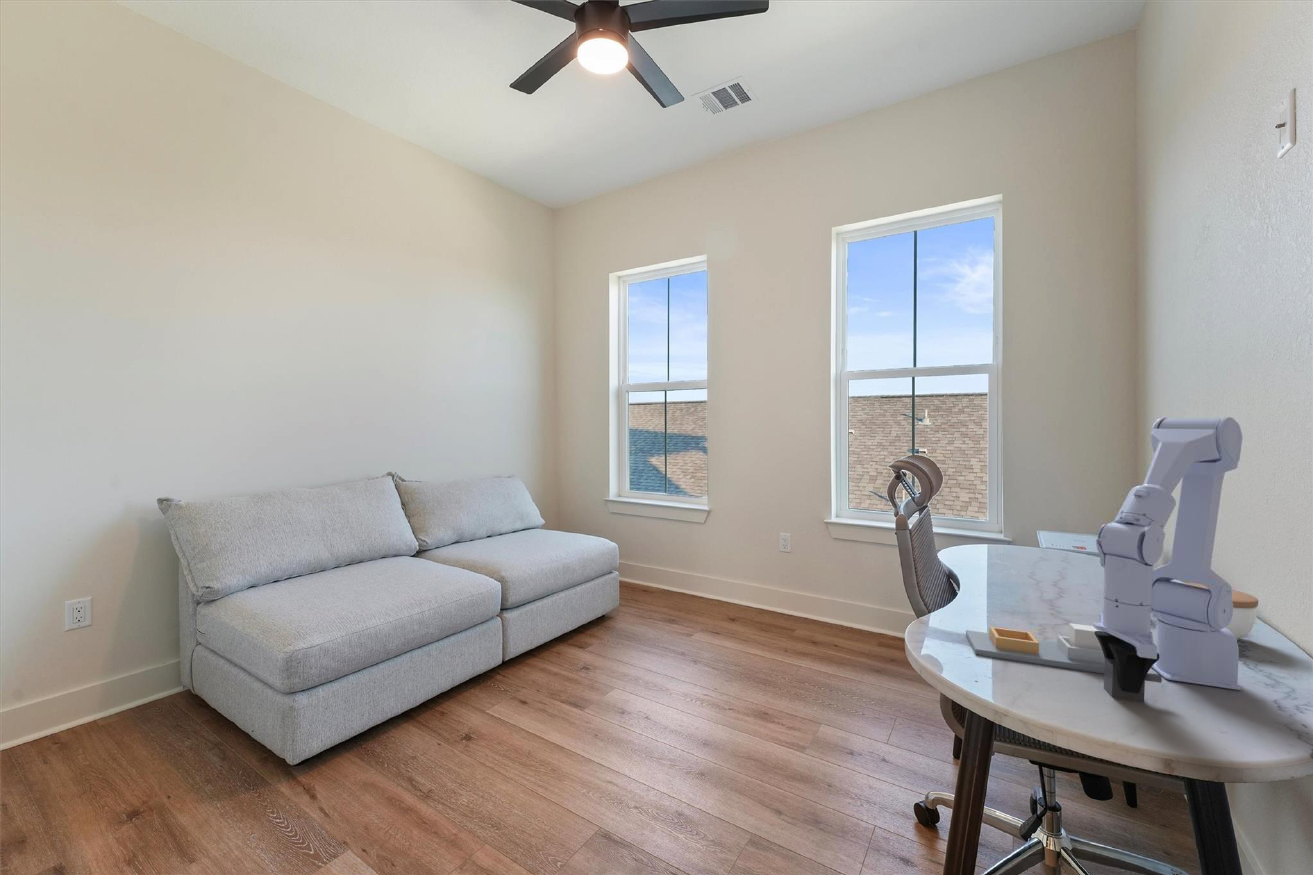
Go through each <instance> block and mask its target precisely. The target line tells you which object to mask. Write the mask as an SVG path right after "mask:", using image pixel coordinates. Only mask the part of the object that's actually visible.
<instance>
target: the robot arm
mask: <svg viewBox="0 0 1313 875" xmlns="http://www.w3.org/2000/svg"><path fill="white" fill-rule="evenodd" d="M1150 443H1151V447H1152V450H1153V453H1154V455H1153V458H1152V459H1151V463H1150V464H1149V468H1148V471H1147V473H1146V476H1145V478H1144V481H1143V484H1142V485H1136V486H1134V487H1132V488H1131V489H1130V490H1129V492H1128V494H1127V496H1126V497H1125V499H1124V501H1123V502H1122V506H1121V507H1120V509H1119V511H1118V512H1117V514H1116V516H1115V518H1114V519H1113V521H1110V522H1109V523H1105V524H1103V525H1102V526H1100V528H1099V531H1098V533H1097V538H1096V540H1095V545H1096V550H1097V552H1098V554H1099V564H1100V566H1101V567H1102V568H1103V593H1102V594H1103V597H1102V601H1103V602H1102V612H1101V611H1100V612H1099V614H1098V615H1099V616H1098V617H1099V618H1098V622H1095V621H1094V622H1093V623H1092V626H1093V627H1094V628H1095V629H1097V630H1100V631H1095V635H1096V637H1097V639H1098V641H1099V643H1100V645H1101V648H1102V650H1103V653H1104V657H1105V658H1108V659H1115V661H1116V665H1117V672H1118V681H1119V685H1120V688H1121V690H1122V691H1125V692H1131V693H1137V694H1139V692H1140V690H1141V688H1142V685H1143V682H1144V680H1145V677H1146V675H1147V673H1149V671H1150V669H1151V668H1152V669H1154V670H1155V672H1157V673H1158V674H1159V675H1160V676H1161V677H1163V678H1164V679H1166V680H1169V681H1176V682H1183V683H1189V684H1194V685H1203V686H1209V687H1216V688H1217V687H1218V688H1224V689H1229V690H1236V691H1237V690H1238V691H1239V690H1241V686H1240V685H1238V683H1239V682H1238V680H1239V679H1238V678H1239V657H1240V656H1239V655H1240V654H1239V653H1240V652H1239V650H1240V649H1239V645H1238V639H1237V640H1236V638H1235V636H1234V635H1233V633H1232V632H1231V631H1230V630H1228V629H1226V628H1225V627H1227V626H1228V625H1229V623H1230V621H1231V619H1232V615H1233V602H1232V590H1233V589H1232V586H1231V585H1230V584H1229V582H1227V581H1226V579H1224V578H1223V577H1221V576H1220V575H1219V574H1218V573H1216V572H1215V571H1214V570H1213V569H1211V567H1212V560H1213V559H1212V558H1213V551H1214V547H1215V538H1216V531H1217V525H1218V524H1217V523H1218V516H1219V509H1220V501H1221V494H1222V489H1223V482H1224V479H1225V478H1224V477H1225V473H1227V472H1230V471H1233V470H1236V469H1238V465H1239V462H1240V461H1241V460H1240V458H1241V452H1242V451H1241V450H1242V444H1243V433H1242V429H1241V426H1240V423H1239V422H1238V421H1237V420H1235V418H1234V417H1231V416H1229V417H1228V416H1225V417H1219V418H1218V417H1209V418H1207V417H1206V418H1204V417H1200V418H1197V417H1195V418H1191V417H1189V418H1187V417H1186V418H1183V417H1182V418H1181V417H1178V418H1168V417H1160V418H1158V419H1157V420H1156V421H1155V422H1154V423H1153V425H1152V426H1151V429H1150ZM1180 482H1181V486H1180V492H1179V501H1178V507H1177V514H1176V519H1175V520H1176V521H1175V529H1174V535H1173V541H1172V549H1171V555H1170V562H1168V563H1167V564H1166V563H1165V564H1163V565H1161V566H1158V567H1155V568H1154V565H1155V564H1157V562H1158V561H1159V560H1160V558H1161V557H1162V554H1163V552H1164V550H1163V549H1164V541H1165V538H1166V532H1164V529H1165V527H1166V525H1167V523H1168V521H1169V519H1170V517H1171V515H1172V513H1173V511H1174V509H1175V507H1176V505H1177V501H1176V499H1175V497H1174V496H1173V495H1172V493H1173V492H1174V491H1175V489H1176V487H1177V486H1178V484H1179V483H1180ZM1174 580H1177V581H1182V582H1176V581H1174ZM1183 582H1186V583H1192V584H1201V585H1204V586H1206V587H1207V588H1209V589H1205V588H1201V587H1196V586H1191V585H1187V584H1182V583H1183ZM1152 618H1154V619H1156V636H1155V641H1156V642H1155V643H1154V636H1153V632H1152V631H1151V628H1152V627H1151V626H1152V624H1151V623H1152Z"/></svg>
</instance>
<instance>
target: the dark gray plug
mask: <svg viewBox="0 0 1313 875" xmlns="http://www.w3.org/2000/svg"><path fill="white" fill-rule="evenodd" d="M1103 674H1104V676H1103V690H1105V691H1106V692H1107V694H1108V695H1109V696H1110V697H1111V698H1114V699H1120V700H1127V701H1134V702H1139V703H1145V687H1146V682H1152V683H1157V684H1158V683H1159V684H1162V681H1163V680H1162V679H1163V678H1162V675H1161V674H1160V673H1158V674H1157V673H1150V672H1148V673H1147V675H1146V677H1145V680H1144V682H1143V685H1142V688H1141V690H1140V692H1139V694H1137V693H1131V692H1125V691H1122V690H1121V688H1120V685H1119V681H1118V672H1117V665H1116V661H1115V659H1108V658H1105V670H1104V673H1103Z"/></svg>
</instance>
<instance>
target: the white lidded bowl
mask: <svg viewBox="0 0 1313 875" xmlns="http://www.w3.org/2000/svg"><path fill="white" fill-rule="evenodd" d="M1181 583H1182V584H1187V585H1191V586H1196V587H1201V588H1205V589H1209V588H1207V587H1206V586H1204V585H1201V584H1197V583H1192V582H1181ZM1232 602H1233V615H1232V619H1231V621H1230V623H1229V625H1228V626H1227V627H1225V628H1226V629H1228V630H1230V631H1231V632H1232V633H1233V635H1234V636H1235V638H1236V640H1237V641H1238V640H1240V639H1243V637H1246V636H1247V635H1248V634H1249V633H1251V631H1252V629H1253V628H1254V625H1255V623H1256V620H1257V612H1258V606H1259V599H1258V598H1257V597H1255V596H1254V595H1251V594H1249V593H1246V592H1241V591H1239V590H1235V589H1232Z"/></svg>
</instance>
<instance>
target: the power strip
mask: <svg viewBox="0 0 1313 875" xmlns="http://www.w3.org/2000/svg"><path fill="white" fill-rule="evenodd" d="M1095 631H1100V630H1097V629H1095V628H1094V627H1093V625H1087V624H1078V623H1071V622H1070V623H1068V636H1063V635H1056V641H1050V640H1044V639H1037V638H1035V636H1034V634H1033V633H1032V632H1031V631H1026V630H1025V631H1024V630H1017V629H1010V628H1003V627H995V626H989V632H983V631H982V632H981V631H975V630H968V629H967V630H966V631H965V636H966V638H967V640H968V641H969V644H970V647H971V649H972V648H973V649H972V651H973V650H974V651H973V652H974V654H979V655H978V656H982V655H983V656H984V657H989V656H990V658H996V659H1004V660H1010V661H1016V662H1017V661H1018V662H1023V663H1032V664H1036V665H1045V666H1051V667H1057V668H1058V667H1059V668H1064V669H1072V670H1077V671H1083V672H1092V673H1096V674H1097V673H1098V674H1104V670H1105V657H1104V653H1103V650H1102V648H1101V645H1100V643H1099V641H1098V639H1097V637H1096V635H1095Z"/></svg>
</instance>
